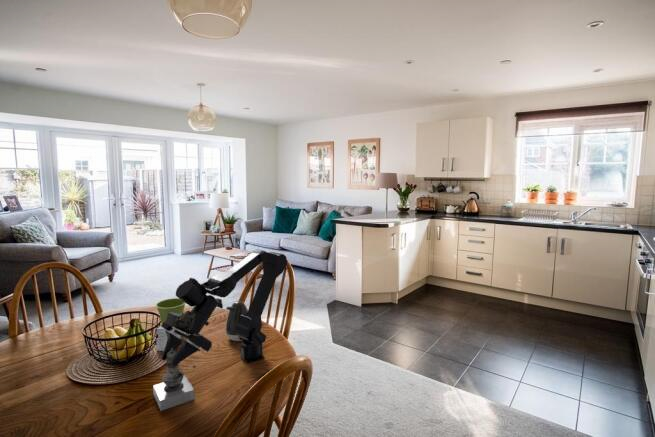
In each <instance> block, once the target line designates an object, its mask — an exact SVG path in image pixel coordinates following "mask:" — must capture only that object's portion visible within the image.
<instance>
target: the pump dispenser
mask: <svg viewBox="0 0 655 437" xmlns="http://www.w3.org/2000/svg"><path fill="white" fill-rule="evenodd" d="M226 310H227V311H228V313H227V317H226V321H225V329H224V330H225V334H226V336H227V338H229V340H231V341H233V342H242V341H243V340H240V339H239V337H238V336H237V335H236V332H235V328H236V326H235V325H236V323H237V321H238V318H239V316H240V315H245V314H246V313H247V312H248V310H249V308H247V305H246V304H245V303H244V302H243V301H239V300H238V301H234V302H233V303H232V304H231V306H227V307H226Z"/></svg>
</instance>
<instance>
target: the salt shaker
mask: <svg viewBox="0 0 655 437" xmlns="http://www.w3.org/2000/svg"><path fill="white" fill-rule="evenodd" d="M177 353H178V351H177V350H173V348H171V351H169V352H168V353H167V359H166V363H165V366H166V370H167V372H166V373H164V374H163V376H162V379H161V380H162V381H163V382H164V383H165V385H166V386H165V388H164V391H165V392H167V393H173V392H177V391H179V390H181V389H182V388H183V386H184V384H183V383H182V380H183V376H185V372H184V371H183V370H180V367H179V364H180V363H178V364H177V365H175V366H172V365H171V363H172V361H173V359H174V358H175V356H176V354H177Z"/></svg>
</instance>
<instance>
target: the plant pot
mask: <svg viewBox="0 0 655 437" xmlns="http://www.w3.org/2000/svg"><path fill="white" fill-rule="evenodd" d="M185 305H186V303H185V302H184V301H182V300H181V299H179V298H178V297H174V298H173V297H172V298H167V299H163V300H160V301H158V302H157V303H155V308H157V312H158V314H159V319H160V322H161V325H162V324H163V323H164V321H166V318H167V315H168V312H172V313H179V314H183V313H184V312H185V311H184V310H185V308H186V307H185Z"/></svg>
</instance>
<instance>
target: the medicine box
mask: <svg viewBox="0 0 655 437" xmlns="http://www.w3.org/2000/svg"><path fill="white" fill-rule="evenodd" d="M158 327H159V328H158ZM158 327H156V329H157V334H158V338H156V350H157V351H161V352H164V349H165V346H166V343H167V334H166V333H165V331H167V330H166V329H164V328H162V327H161V325H160V326H158Z"/></svg>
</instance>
